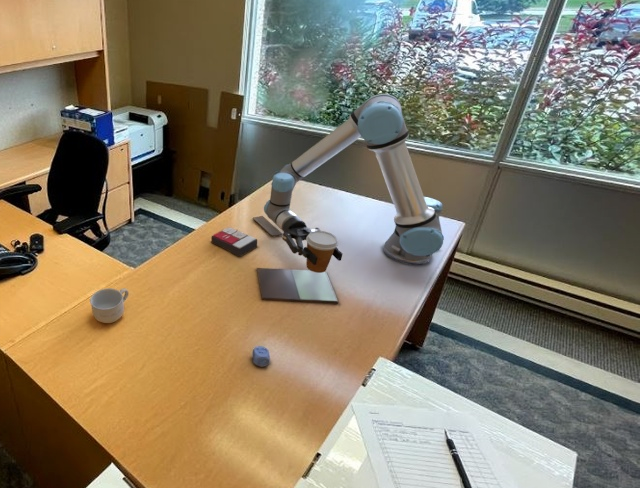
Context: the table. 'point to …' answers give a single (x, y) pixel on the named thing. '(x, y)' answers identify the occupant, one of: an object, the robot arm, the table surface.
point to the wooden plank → (267, 226)
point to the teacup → (108, 304)
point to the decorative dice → (261, 356)
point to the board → (295, 286)
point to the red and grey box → (234, 241)
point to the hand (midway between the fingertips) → (328, 259)
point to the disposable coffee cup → (321, 249)
